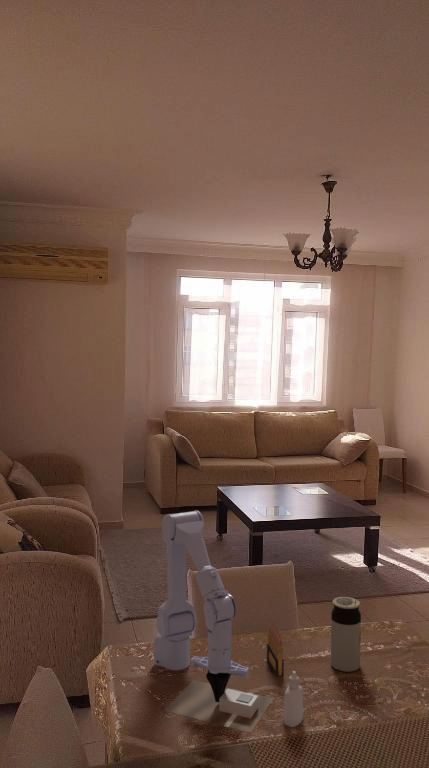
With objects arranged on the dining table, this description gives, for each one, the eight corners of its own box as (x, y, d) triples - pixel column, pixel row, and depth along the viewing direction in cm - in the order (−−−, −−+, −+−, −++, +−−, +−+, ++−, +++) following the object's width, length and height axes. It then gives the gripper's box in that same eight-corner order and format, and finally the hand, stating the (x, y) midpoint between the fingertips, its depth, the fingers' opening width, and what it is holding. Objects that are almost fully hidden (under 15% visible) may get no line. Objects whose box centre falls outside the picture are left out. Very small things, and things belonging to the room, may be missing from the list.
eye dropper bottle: (278, 719, 156) (278, 670, 155) (298, 714, 158) (299, 665, 158) (288, 729, 152) (288, 678, 151) (308, 723, 154) (309, 673, 154)
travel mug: (327, 669, 180) (328, 604, 179) (333, 656, 188) (334, 594, 187) (357, 675, 177) (358, 609, 176) (362, 661, 185) (363, 598, 184)
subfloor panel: (164, 714, 158) (164, 710, 158) (193, 683, 172) (193, 679, 172) (250, 737, 149) (250, 733, 149) (273, 702, 164) (273, 698, 164)
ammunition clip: (283, 679, 175) (284, 634, 174) (277, 679, 175) (277, 635, 174) (273, 660, 186) (273, 618, 185) (266, 660, 185) (267, 618, 185)
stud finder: (219, 710, 158) (219, 697, 158) (227, 700, 162) (227, 687, 162) (250, 718, 155) (250, 705, 154) (258, 707, 159) (258, 694, 159)
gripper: (185, 646, 159) (185, 701, 160) (241, 658, 153) (240, 715, 154) (197, 635, 166) (197, 687, 166) (252, 646, 160) (251, 700, 160)
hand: (219, 700), depth 161 cm, fingers closed
